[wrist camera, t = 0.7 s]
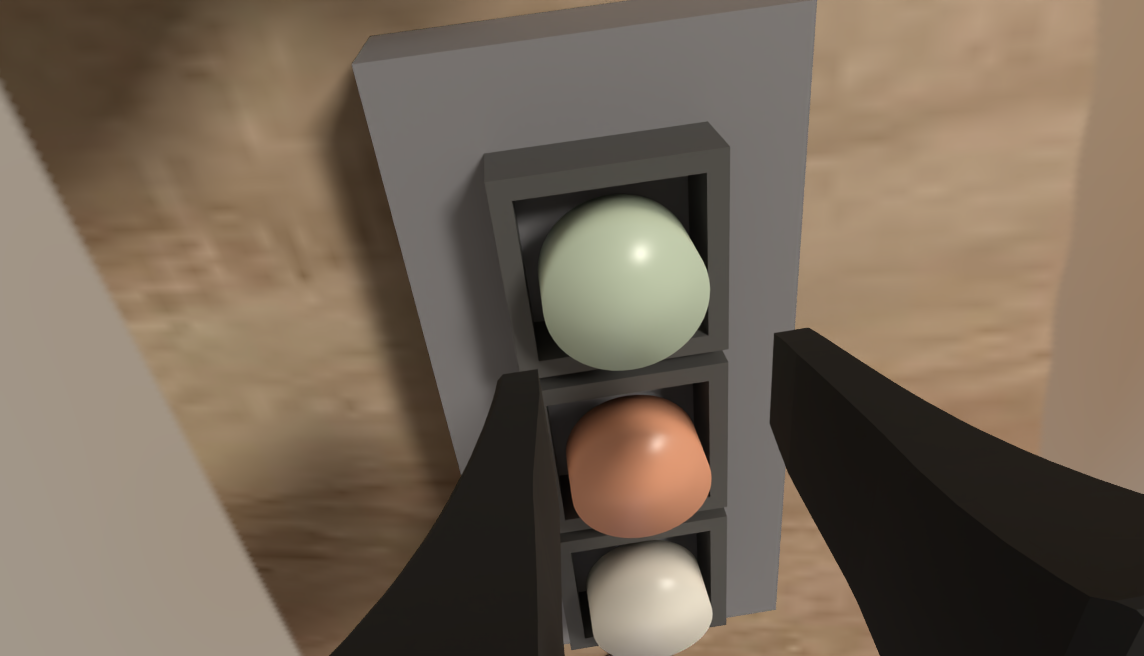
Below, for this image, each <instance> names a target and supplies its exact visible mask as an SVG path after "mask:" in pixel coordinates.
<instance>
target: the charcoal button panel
mask: <svg viewBox="0 0 1144 656" xmlns="http://www.w3.org/2000/svg"><path fill="white" fill-rule="evenodd" d="M816 8H817V0H629V1H622V2H615V3H607V4H600V5H593V6H586V7H578V8H571V9H564V10H557V11H549V12H542V13H535V14H528V15H521V16H513V17H506V18H499V19H492V20H484V21H477V22H470V23H463V24H455V25H448V26H441V27H434V28H426V29H419V30H412V31H405V32H398V33H390V34H383V35H376V36H370V37H369V38H368V40H367V42H366V43H365V45H364V46H363V48H362V49H361V51H360V52H359V54H358V55H357V57H356V58H355V60H354V61H353V63H352V68H353V72H354V75H355V79H356V83H357V87H358V90H359V94H360V98H361V102H362V105H363V109H364V113H365V117H366V120H367V124H368V128H369V132H370V135H371V139H372V143H373V147H374V150H375V154H376V158H377V162H378V165H379V169H380V173H381V177H382V180H383V184H384V188H385V192H386V195H387V199H388V203H389V207H390V210H391V214H392V218H393V222H394V225H395V229H396V233H397V237H398V240H399V244H400V248H401V252H402V255H403V259H404V263H405V267H406V270H407V274H408V278H409V282H410V285H411V289H412V293H413V297H414V300H415V304H416V308H417V312H418V315H419V319H420V323H421V327H422V330H423V334H424V338H425V342H426V345H427V349H428V353H429V357H430V360H431V364H432V368H433V372H434V375H435V379H436V383H437V387H438V390H439V394H440V398H441V402H442V405H443V409H444V413H445V417H446V420H447V424H448V428H449V432H450V435H451V439H452V443H453V447H454V450H455V454H456V458H457V462H458V465H459V469H460V473H461V475H462V473H463V471H464V469H465V467H466V465H467V463H468V461H469V459H470V457H471V454H472V452H473V450H474V447H475V445H476V443H477V440H478V438H479V436H480V433H481V431H482V429H483V426H484V423H485V421H486V418H487V415H488V412H489V409H490V406H491V403H492V400H493V397H494V393H495V389H496V385H497V380H498V379H499V378H500V377H501V376H502V375H503V374H508V373H514V372H521V371H528V370H534V369H538V373H539V379H540V385H541V391H542V397H543V403H544V408H545V414H546V420H547V426H548V432H549V438H550V444H551V450H552V456H553V463H554V470H555V478H556V485H557V493H558V501H559V508H560V544H561V586H562V626H563V642H564V644H569V643H570V645H571V650H575V649H581V648H587V647H593V646H599V645H598V644H597V642H596V640H595V638H594V635H593V629H592V623H591V616H590V609H589V602H588V595H587V588H586V582H587V577H588V574H589V572H590V570H591V568H592V567H593V566H594V564H595V563H596V562H597V561H598V560H599V559H600V558H601V557H602V556H604V555H605V554H607V553H608V552H610V551H611V550H613V549H615V548H617V547H620V546H622V545H625V544H630V543H636V542H643V541H649V540H664V541H670V542H673V543H676V544H679V545H681V546H683V547H684V548H686V549H687V550H689V551H690V552H691V553H692V554H693V555H694V557H695V558H696V560H697V562H698V565H699V569H700V572H701V575H702V578H703V581H704V585H705V588H706V591H707V594H708V598H709V601H710V604H711V607H712V613H713V615H712V621H711V624H710V626H709V627H715V626H721V625H726V618H728V617H734V616H740V615H746V614H752V613H758V612H764V611H771V610H776V598H777V583H778V569H779V554H780V539H781V524H782V510H783V495H784V480H785V464H784V461H783V458H782V456H781V453H780V451H779V448H778V445H777V443H776V440H775V437H774V435H773V432H772V429H771V426H770V424H769V423H770V402H771V382H772V362H773V341H774V333H777V332H783V331H790V330H795V318H796V303H797V288H798V273H799V259H800V244H801V229H802V214H803V200H804V185H805V170H806V155H807V141H808V126H809V111H810V96H811V82H812V67H813V52H814V37H815V22H816ZM611 194H632V195H638V196H642V197H645V198H649V199H651V200H653V201H656V202H658V203H660V204H661V205H663V206H664V207H666V208H667V209H669V210H670V211H671V212H672V213H673V214H674V215H675V216H676V217H677V218H678V220H679V221H680V222H681V224H682V225H683V227H684V228H685V230H686V232H687V234H688V235H689V237H690V239H691V241H692V243H693V244H694V246H695V248H696V250H697V251H698V253H699V255H700V257H701V259H702V260H703V262H704V265H705V267H706V269H707V273H708V277H709V283H710V298H709V303H708V308H707V311H706V314H705V316H704V319H703V321H702V323H701V324H700V326H699V328H698V329H697V331H696V332H695V334H694V335H693V336H692V337H691V338H690V339H689V341H688V342H687V343H686V344H685V345H683V346H682V347H681V348H680V349H679V350H677V351H676V352H675V353H673V354H672V355H670V356H669V357H667V358H665V359H663V360H661V361H659V362H657V363H655V364H652V365H649V366H646V367H643V368H638V369H633V370H624V371H611V370H603V369H598V368H594V367H591V366H588V365H585V364H583V363H581V362H579V361H577V360H575V359H573V358H572V357H570V356H569V355H568V354H566V353H565V352H564V351H563V350H562V349H561V348H560V347H559V346H558V345H557V344H556V342H555V341H554V340H553V338H552V336H551V335H550V333H549V331H548V328H547V326H546V323H545V319H544V315H543V308H542V301H541V293H540V286H539V279H538V260H539V255H540V251H541V248H542V245H543V243H544V241H545V239H546V237H547V235H548V233H549V232H550V230H551V229H552V228H553V226H554V225H555V224H556V223H557V222H558V221H559V219H560V218H561V217H563V216H564V215H565V214H566V213H567V212H569V211H570V210H571V209H573V208H575V207H576V206H578V205H580V204H582V203H584V202H586V201H588V200H591V199H594V198H597V197H600V196H605V195H611ZM627 395H652V396H657V397H661V398H664V399H667V400H669V401H671V402H673V403H675V404H677V405H678V406H679V407H681V408H682V409H683V410H684V411H685V412H686V413H687V414H688V416H689V417H690V418H691V420H692V422H693V424H694V427H695V430H696V432H697V435H698V437H699V440H700V443H701V445H702V448H703V451H704V453H705V456H706V459H707V461H708V464H709V467H710V470H711V478H712V479H711V487H710V491H709V493H708V496H707V498H706V500H705V501H704V503H703V505H702V506H701V507H700V508H699V510H698V511H697V512H696V513H695V514H694V515H693V516H692V517H690V518H689V519H688V520H686V521H685V522H683V523H682V524H680V525H679V526H677V527H675V528H673V529H671V530H668V531H666V532H663V533H660V534H657V535H653V536H648V537H641V538H620V537H614V536H610V535H606V534H603V533H601V532H599V531H596V530H595V529H593V528H591V527H590V526H588V525H587V524H586V523H585V522H584V521H583V520H582V519H581V518H580V517H579V515H578V514H577V512H576V510H575V508H574V505H573V501H572V494H571V487H570V480H569V474H568V467H567V460H566V444H567V440H568V437H569V435H570V433H571V430H572V429H573V427H574V426H575V424H576V423H577V422H578V421H579V420H580V418H582V417H583V416H584V415H585V414H586V413H587V412H589V411H590V410H591V409H593V408H594V407H596V406H598V405H600V404H601V403H604V402H606V401H608V400H611V399H614V398H617V397H622V396H627Z"/></svg>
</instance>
